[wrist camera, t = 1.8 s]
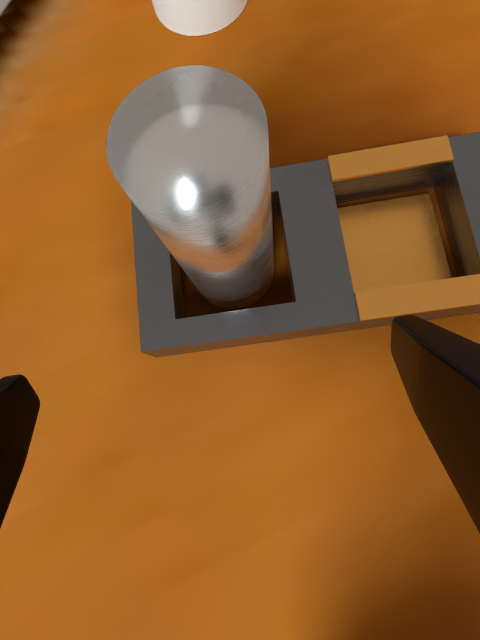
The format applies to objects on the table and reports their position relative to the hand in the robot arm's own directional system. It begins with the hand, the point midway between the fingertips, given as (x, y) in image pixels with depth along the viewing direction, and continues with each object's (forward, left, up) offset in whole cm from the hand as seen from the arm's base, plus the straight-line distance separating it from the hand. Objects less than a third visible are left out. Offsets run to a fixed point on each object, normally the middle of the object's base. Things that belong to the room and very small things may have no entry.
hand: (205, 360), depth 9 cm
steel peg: (+3, -6, -13) cm, 15 cm away
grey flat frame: (-1, -8, -13) cm, 15 cm away
